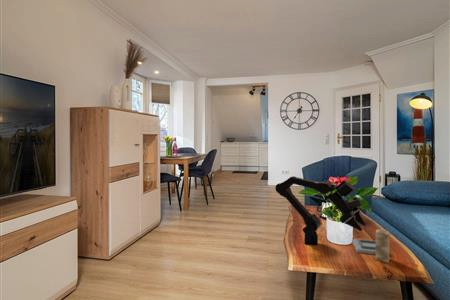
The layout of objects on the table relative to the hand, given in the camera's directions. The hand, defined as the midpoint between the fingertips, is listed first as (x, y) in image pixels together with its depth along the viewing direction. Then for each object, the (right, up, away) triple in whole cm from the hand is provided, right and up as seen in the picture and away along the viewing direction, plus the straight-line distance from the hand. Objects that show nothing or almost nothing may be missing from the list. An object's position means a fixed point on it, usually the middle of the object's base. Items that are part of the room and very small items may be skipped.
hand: (363, 227), depth 122 cm
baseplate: (+7, -13, +8) cm, 17 cm away
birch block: (+6, -13, -4) cm, 15 cm away
